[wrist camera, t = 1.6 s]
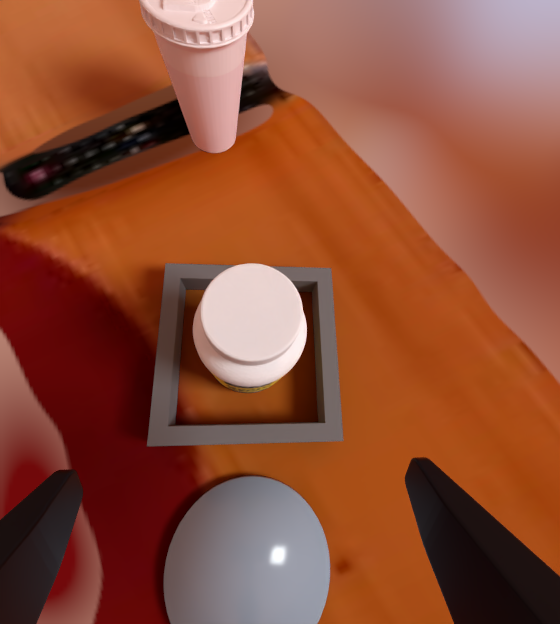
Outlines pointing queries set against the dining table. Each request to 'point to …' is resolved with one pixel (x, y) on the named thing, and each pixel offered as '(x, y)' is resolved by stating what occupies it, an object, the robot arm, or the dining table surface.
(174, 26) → the smoothie
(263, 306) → the supplement bottle
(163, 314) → the frame
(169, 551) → the coaster
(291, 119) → the dining table surface
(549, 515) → the dining table surface
